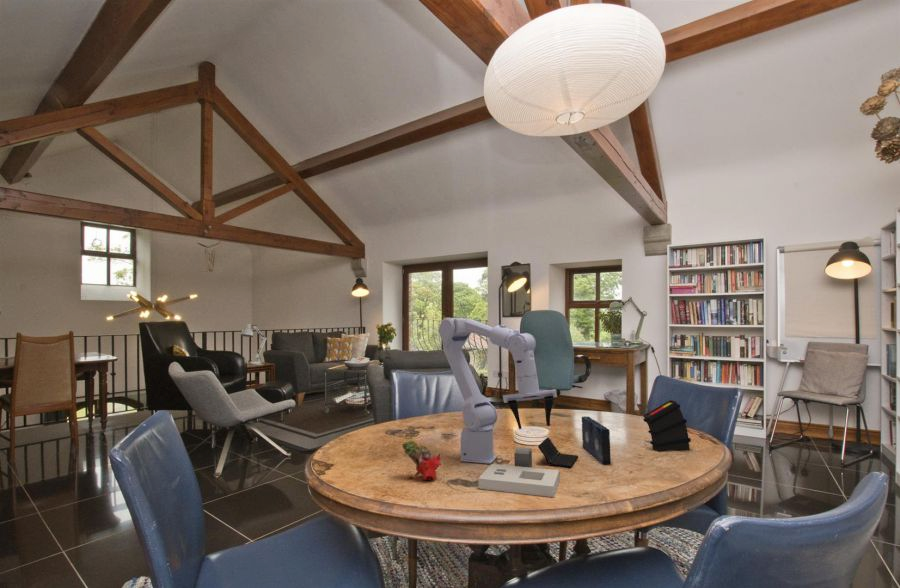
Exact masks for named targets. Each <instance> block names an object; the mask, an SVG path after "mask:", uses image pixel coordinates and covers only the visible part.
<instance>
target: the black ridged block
mask: <svg viewBox="0 0 900 588" xmlns="http://www.w3.org/2000/svg"><path fill="white" fill-rule="evenodd" d="M680 408H681V404H679V403H677V400H672V399H669V400H668V401H666V402H664V403H663V404H661V405H659V406H657V407H656V408H654V409H652V410H650V411H649V412H647V413H645V414H643V415H642V417H643V421H644V422H645V423H646V424H647V426H648V428H649V430H647V432H648V433H649V434H650V437H651V441H650V445H652V448H651V449H653V450H654V449H655V450H654V451H656V450H657V452H667V451H666V450H675V451H689V450H690V448H691V447H690V443H691V442H692V439H691V438H690V437H689V433H688V428H687V426H686V425H687V423H688V422H687V421H688V420H687V419H686V418H684V415H683V412H682V410H681V409H680Z"/></svg>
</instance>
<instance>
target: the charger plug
mask: <svg viewBox="0 0 900 588" xmlns="http://www.w3.org/2000/svg"><path fill="white" fill-rule="evenodd" d="M531 449H532V448H531V447H525V446H517V447H516V448H515V450H514V453H513V454H514V455H513V456H514V466H519V467H529V468H533V454H532V452H533V451H532V450H531Z"/></svg>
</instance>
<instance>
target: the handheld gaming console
mask: <svg viewBox="0 0 900 588" xmlns="http://www.w3.org/2000/svg"><path fill="white" fill-rule="evenodd" d="M537 448H538V450H540V452H541V453H542V454H543V456H544V457H545V459H546V460H547V462H548V463H549V467H554V468H562V469H572V468H573V467H574V465H575V463H576V462H577V460H578V459H579V455H576V454H570V453H569V454H567V453H561V452H560V451H559V450H558V449H557V447H556V446H555V445H554V443H553V441H552V440H551V439H550V437H546V438H545V439H544V440H543V441H542V442H541V443H539V445H538V446H537Z"/></svg>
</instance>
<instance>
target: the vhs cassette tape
mask: <svg viewBox="0 0 900 588" xmlns="http://www.w3.org/2000/svg"><path fill="white" fill-rule="evenodd" d="M610 432H611V431H610V429H609V428H607V427H606V426H604V425H603V424H601V423H600V422H598V421H596V420H595V419H593V418H592V417H590V416H581V437H582V449H584V451H586V452H587V453H588V454H590V456H591V457H593V458H594V459H595V460H596V461H598V463H600V464H601V465H602V466H607V465H609V466H610V465H612V464H611V440H610V439H611V438H610V437H611V435H610Z"/></svg>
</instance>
